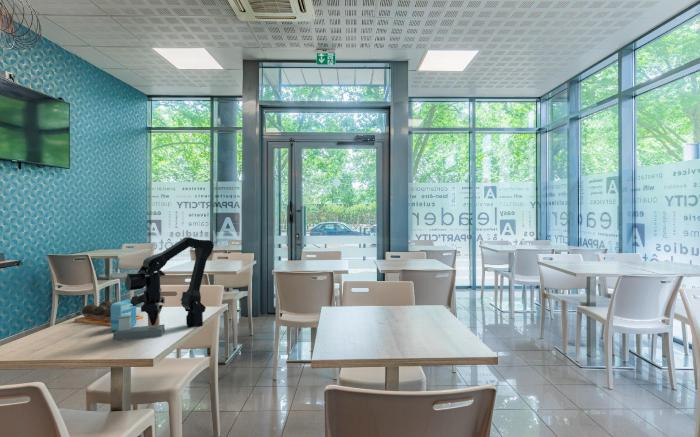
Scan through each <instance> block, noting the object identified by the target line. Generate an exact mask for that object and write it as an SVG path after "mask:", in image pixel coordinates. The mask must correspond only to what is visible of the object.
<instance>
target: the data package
mask: <svg viewBox="0 0 700 437" xmlns="http://www.w3.org/2000/svg"><path fill="white" fill-rule="evenodd" d="M130 300H131V299H123V300H120V301H116V302H117V303H116V302H112V305H111V326H110V330H111V331H113V332H115V331H116V330H117V329H118V328H119V319H118V317H119V316H123V315H131V327H135V326H136V324H137V320H136V315H137V305H136V306H134V307H133V305H132V304H131V301H130Z"/></svg>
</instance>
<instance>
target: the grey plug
mask: <svg viewBox="0 0 700 437" xmlns="http://www.w3.org/2000/svg"><path fill="white" fill-rule="evenodd" d="M118 319H119V331H127V330H130V329H131V315H123V316H119V317H118Z"/></svg>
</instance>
